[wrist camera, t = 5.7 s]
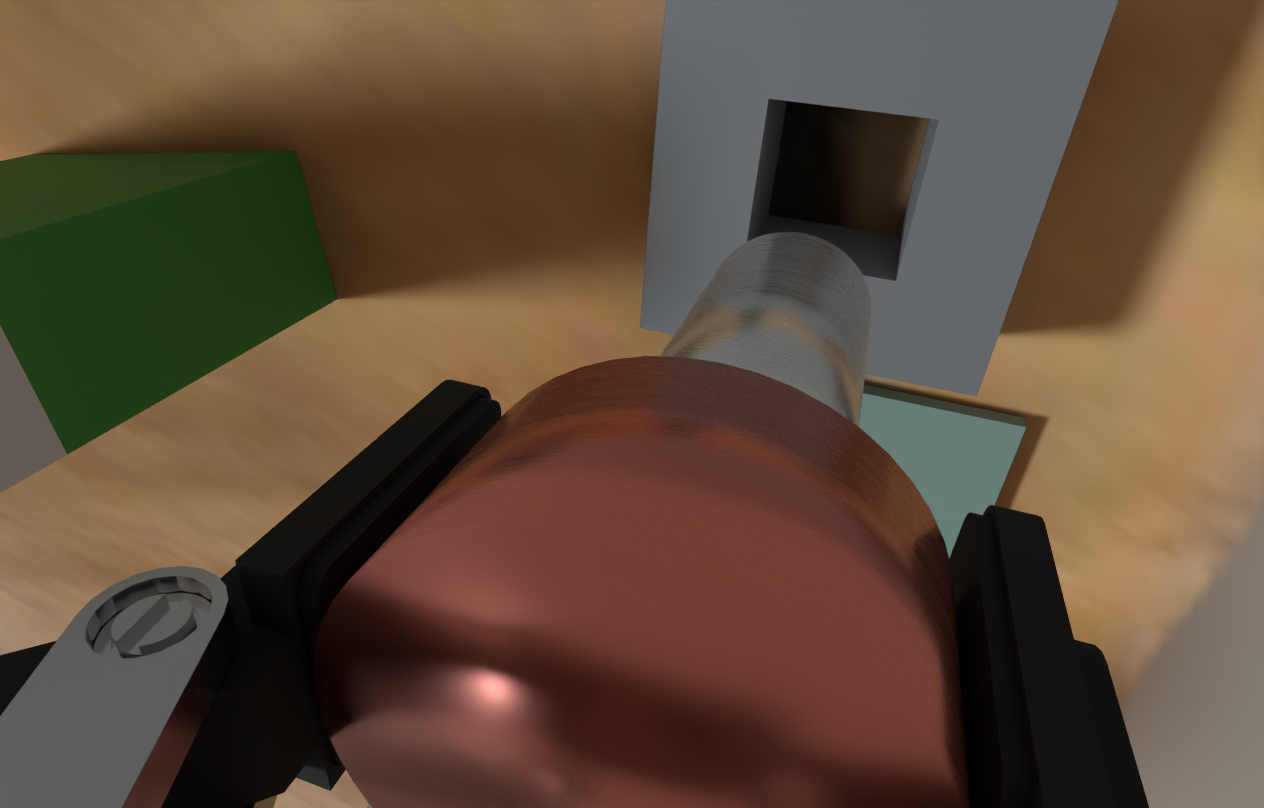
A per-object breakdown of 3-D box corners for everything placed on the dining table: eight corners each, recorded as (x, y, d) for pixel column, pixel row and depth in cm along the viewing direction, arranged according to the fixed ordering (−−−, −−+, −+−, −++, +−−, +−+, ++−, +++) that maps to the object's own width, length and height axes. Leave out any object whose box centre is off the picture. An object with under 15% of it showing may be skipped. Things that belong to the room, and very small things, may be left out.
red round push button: (969, 197, 14) (1106, 676, 4) (892, 454, 17) (871, 1080, 8) (669, 153, 16) (263, 446, 6) (646, 399, 19) (353, 866, 9)
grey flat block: (968, 336, 29) (976, 396, 25) (674, 281, 32) (639, 327, 28) (1085, -12, 23) (1120, -7, 19) (708, -42, 26) (669, -44, 22)
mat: (940, 624, 37) (940, 636, 36) (702, 558, 39) (698, 568, 39) (1024, 417, 30) (1026, 427, 30) (733, 357, 33) (730, 365, 32)
